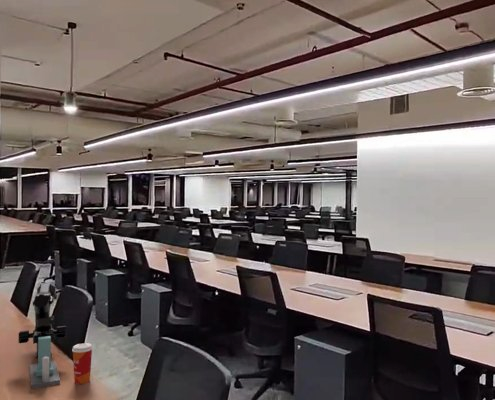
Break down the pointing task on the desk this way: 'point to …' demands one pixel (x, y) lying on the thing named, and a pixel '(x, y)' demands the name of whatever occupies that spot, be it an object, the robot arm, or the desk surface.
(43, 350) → the teal upright block
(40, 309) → the robot arm
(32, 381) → the track
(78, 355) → the paper cup
